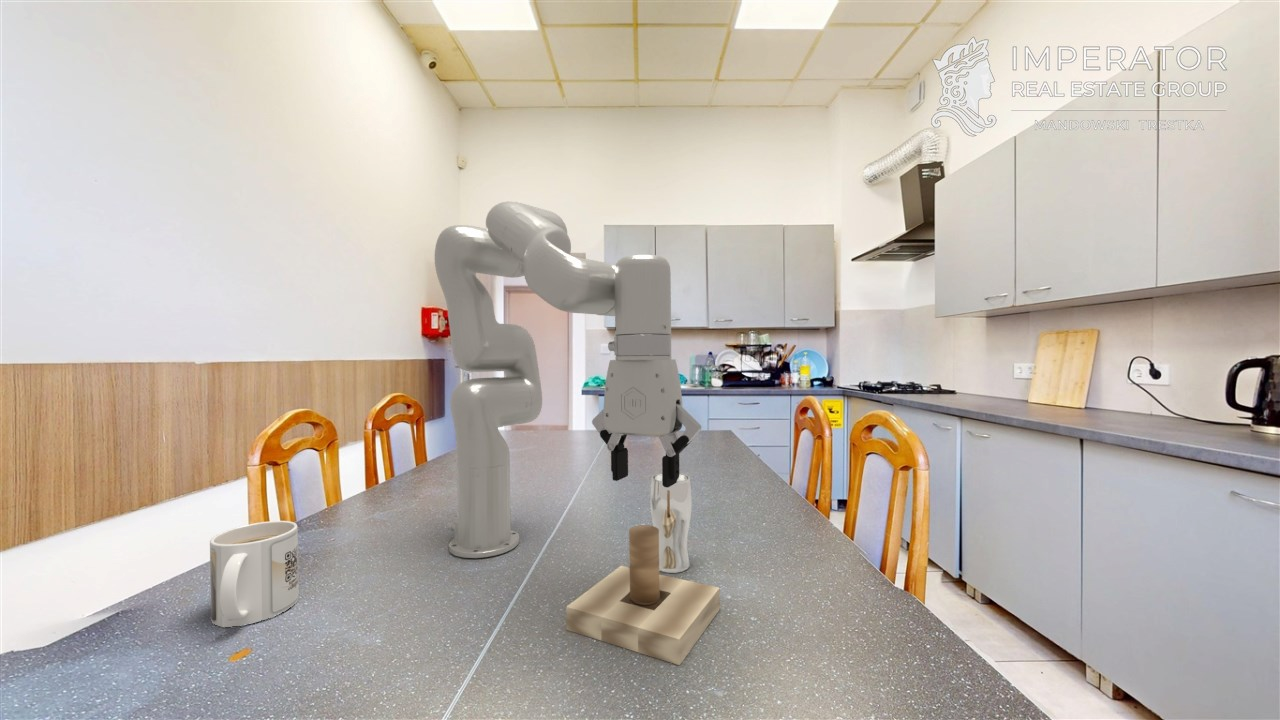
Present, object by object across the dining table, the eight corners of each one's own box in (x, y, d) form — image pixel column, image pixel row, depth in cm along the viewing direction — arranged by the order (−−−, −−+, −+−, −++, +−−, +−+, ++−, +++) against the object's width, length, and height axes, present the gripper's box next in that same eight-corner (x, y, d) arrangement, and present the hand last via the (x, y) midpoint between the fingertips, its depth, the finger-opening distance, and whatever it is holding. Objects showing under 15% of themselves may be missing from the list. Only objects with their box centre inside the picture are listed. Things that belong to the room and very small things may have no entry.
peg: (624, 622, 65) (623, 532, 65) (639, 608, 69) (637, 523, 69) (651, 630, 63) (650, 537, 63) (665, 615, 67) (664, 527, 67)
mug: (318, 599, 72) (317, 524, 72) (226, 644, 61) (225, 556, 61) (268, 588, 76) (267, 517, 76) (173, 629, 64) (172, 546, 64)
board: (566, 629, 63) (566, 606, 63) (621, 584, 76) (620, 565, 76) (679, 665, 56) (679, 639, 56) (719, 609, 68) (719, 587, 68)
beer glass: (689, 576, 79) (689, 483, 79) (647, 572, 80) (646, 481, 80) (693, 558, 85) (693, 473, 85) (654, 555, 87) (653, 471, 87)
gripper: (574, 350, 66) (575, 480, 67) (693, 347, 58) (694, 497, 58) (603, 350, 73) (604, 469, 73) (714, 348, 65) (715, 482, 65)
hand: (644, 480), depth 66 cm, fingers open, 6 cm apart
